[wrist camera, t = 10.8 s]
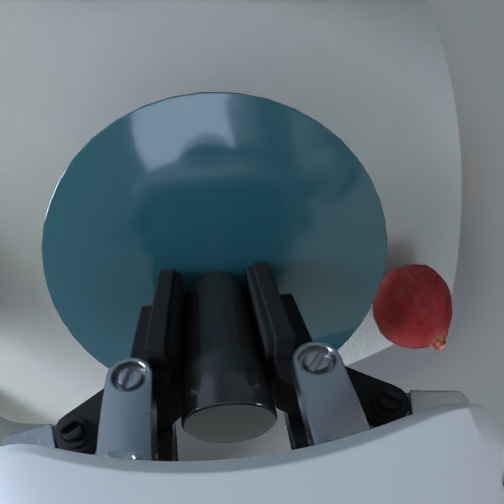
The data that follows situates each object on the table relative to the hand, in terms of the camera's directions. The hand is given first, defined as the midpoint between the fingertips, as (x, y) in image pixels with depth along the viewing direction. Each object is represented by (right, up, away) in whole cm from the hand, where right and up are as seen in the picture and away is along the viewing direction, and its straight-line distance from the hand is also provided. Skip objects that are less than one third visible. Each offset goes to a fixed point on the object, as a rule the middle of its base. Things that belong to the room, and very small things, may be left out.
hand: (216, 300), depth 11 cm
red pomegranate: (+12, 0, +10) cm, 16 cm away
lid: (0, 0, +1) cm, 1 cm away
